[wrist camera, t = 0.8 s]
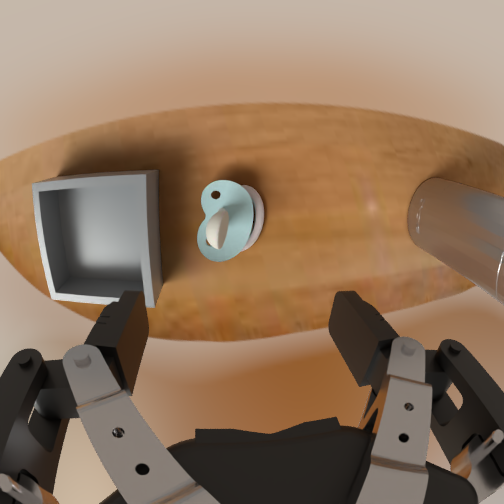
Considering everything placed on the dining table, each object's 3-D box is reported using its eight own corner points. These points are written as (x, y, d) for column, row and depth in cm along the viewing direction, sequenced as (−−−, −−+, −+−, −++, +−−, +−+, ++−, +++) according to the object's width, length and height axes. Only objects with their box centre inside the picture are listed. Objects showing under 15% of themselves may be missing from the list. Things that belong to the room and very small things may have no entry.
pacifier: (268, 183, 25) (204, 175, 24) (286, 194, 19) (201, 183, 18) (256, 255, 28) (196, 250, 26) (268, 285, 22) (192, 279, 21)
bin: (158, 169, 23) (146, 174, 19) (163, 284, 27) (154, 307, 23) (56, 176, 22) (32, 183, 17) (69, 279, 26) (51, 299, 22)
